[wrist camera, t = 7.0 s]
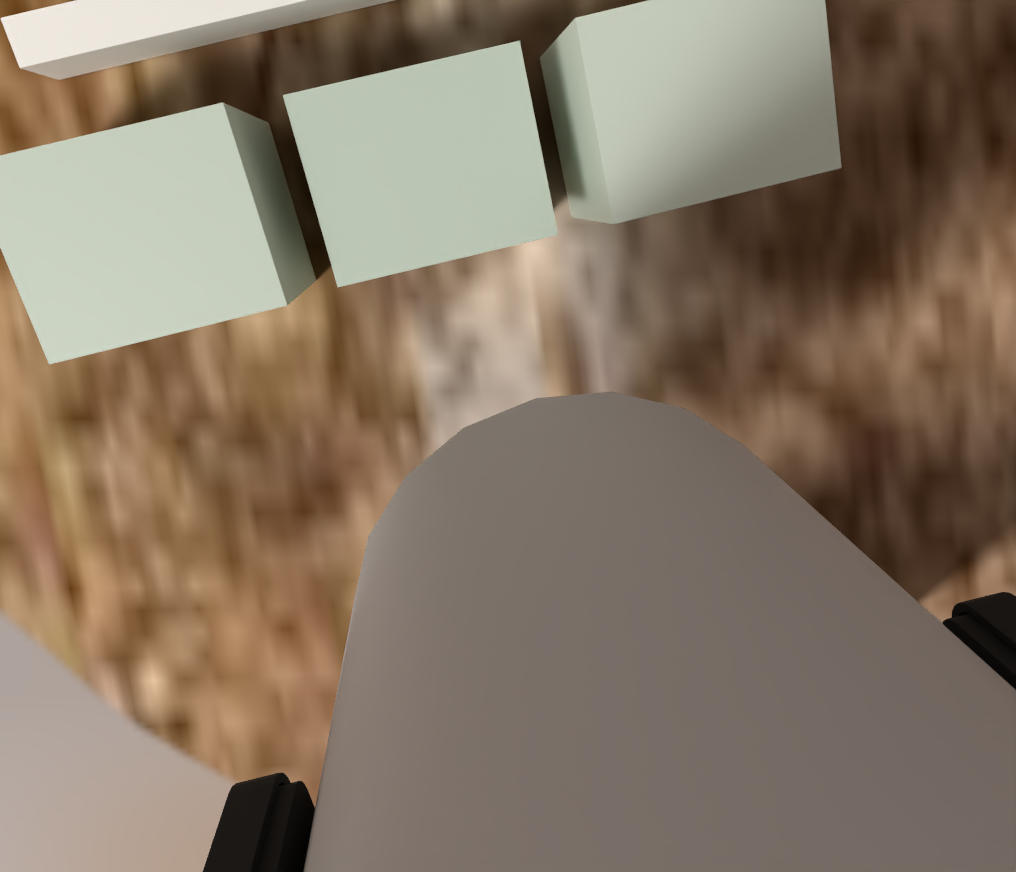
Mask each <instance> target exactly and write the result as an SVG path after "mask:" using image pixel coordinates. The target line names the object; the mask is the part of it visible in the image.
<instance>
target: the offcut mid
mask: <svg viewBox="0 0 1016 872" xmlns="http://www.w3.org/2000/svg"><path fill="white" fill-rule="evenodd" d="M283 98H284V102H285V105H286V109H287V112H288V116H289V119H290V123H291V126H292V130H293V133H294V137H295V140H296V143H297V147H298V150H299V154H300V157H301V161H302V164H303V168H304V171H305V175H306V178H307V182H308V185H309V189H310V192H311V196H312V199H313V203H314V206H315V210H316V213H317V217H318V220H319V224H320V227H321V231H322V234H323V238H324V241H325V245H326V248H327V252H328V255H329V259H330V262H331V266H332V269H333V273H334V276H335V280H336V283H337V286H338V287H341V286H345V285H349V284H354V283H358V282H362V281H366V280H370V279H375V278H379V277H383V276H387V275H391V274H396V273H400V272H404V271H408V270H412V269H417V268H421V267H425V266H429V265H433V264H438V263H442V262H446V261H450V260H454V259H459V258H463V257H467V256H471V255H475V254H480V253H484V252H488V251H492V250H496V249H501V248H505V247H509V246H513V245H517V244H522V243H526V242H530V241H534V240H538V239H543V238H547V237H551V236H555V235H558V231H557V226H556V221H555V216H554V211H553V206H552V201H551V196H550V191H549V186H548V181H547V176H546V171H545V166H544V160H543V155H542V150H541V145H540V140H539V135H538V130H537V125H536V120H535V115H534V110H533V105H532V100H531V95H530V90H529V85H528V80H527V75H526V70H525V65H524V60H523V55H522V50H521V45H520V41H516V42H511V43H507V44H503V45H498V46H494V47H489V48H485V49H481V50H476V51H472V52H468V53H463V54H459V55H455V56H450V57H446V58H442V59H437V60H433V61H429V62H424V63H420V64H416V65H411V66H407V67H403V68H398V69H394V70H390V71H385V72H381V73H377V74H372V75H368V76H364V77H359V78H355V79H350V80H346V81H342V82H337V83H333V84H329V85H324V86H320V87H316V88H311V89H307V90H303V91H298V92H294V93H290V94H285V95H283Z"/></svg>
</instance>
